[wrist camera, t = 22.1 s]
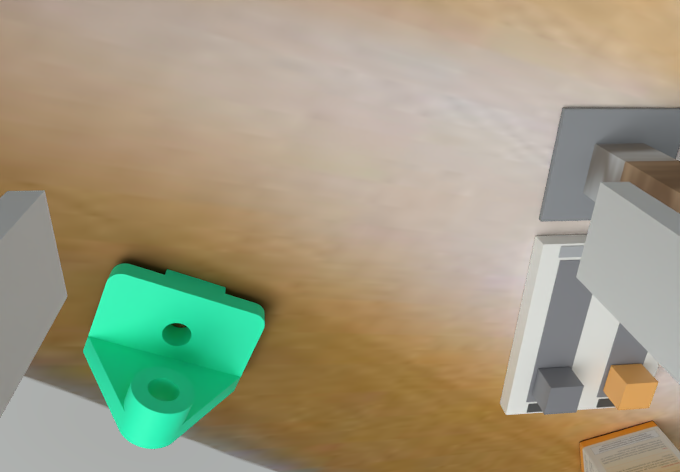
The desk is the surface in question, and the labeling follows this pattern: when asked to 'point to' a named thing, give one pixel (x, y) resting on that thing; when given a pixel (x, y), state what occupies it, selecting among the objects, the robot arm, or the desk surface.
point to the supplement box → (630, 451)
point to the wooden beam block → (635, 171)
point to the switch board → (565, 330)
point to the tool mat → (578, 144)
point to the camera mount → (167, 350)
